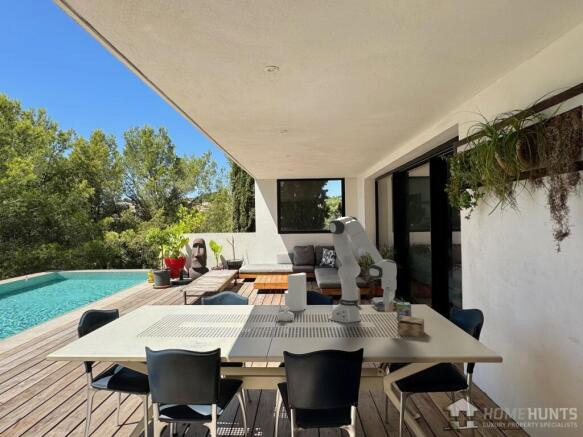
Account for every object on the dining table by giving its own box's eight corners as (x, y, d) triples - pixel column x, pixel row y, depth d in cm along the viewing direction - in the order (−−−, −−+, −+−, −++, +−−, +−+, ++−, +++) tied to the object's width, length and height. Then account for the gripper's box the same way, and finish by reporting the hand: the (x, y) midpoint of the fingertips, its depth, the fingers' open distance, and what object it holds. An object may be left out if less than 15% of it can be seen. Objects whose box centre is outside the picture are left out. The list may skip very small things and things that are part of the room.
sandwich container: (339, 305, 281) (338, 287, 281) (356, 304, 283) (356, 286, 284) (342, 308, 272) (341, 289, 273) (360, 307, 275) (360, 288, 275)
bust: (294, 320, 240) (294, 303, 240) (294, 323, 232) (294, 306, 233) (277, 320, 239) (276, 304, 240) (277, 323, 232) (276, 306, 232)
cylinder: (311, 308, 272) (310, 273, 272) (296, 313, 259) (295, 276, 260) (295, 305, 283) (294, 271, 284) (280, 309, 271) (279, 274, 272)
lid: (397, 320, 205) (397, 318, 205) (400, 316, 215) (400, 314, 215) (422, 324, 199) (422, 322, 199) (424, 319, 209) (424, 318, 209)
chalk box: (411, 322, 230) (411, 300, 230) (397, 321, 232) (397, 299, 232) (410, 318, 239) (409, 297, 239) (396, 318, 241) (396, 297, 241)
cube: (385, 312, 208) (385, 303, 208) (384, 310, 213) (384, 301, 213) (393, 312, 207) (393, 303, 207) (392, 310, 212) (392, 301, 212)
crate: (397, 334, 205) (397, 322, 205) (400, 329, 215) (400, 318, 215) (422, 337, 199) (422, 325, 199) (424, 332, 208) (424, 320, 209)
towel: (370, 306, 276) (370, 296, 277) (392, 305, 278) (392, 296, 278) (376, 311, 261) (376, 301, 261) (399, 310, 263) (399, 300, 263)
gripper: (391, 289, 199) (391, 313, 199) (396, 283, 218) (396, 305, 218) (380, 288, 202) (380, 311, 202) (386, 282, 220) (386, 304, 220)
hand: (388, 308), depth 210 cm, fingers closed on cube, 5 cm apart
